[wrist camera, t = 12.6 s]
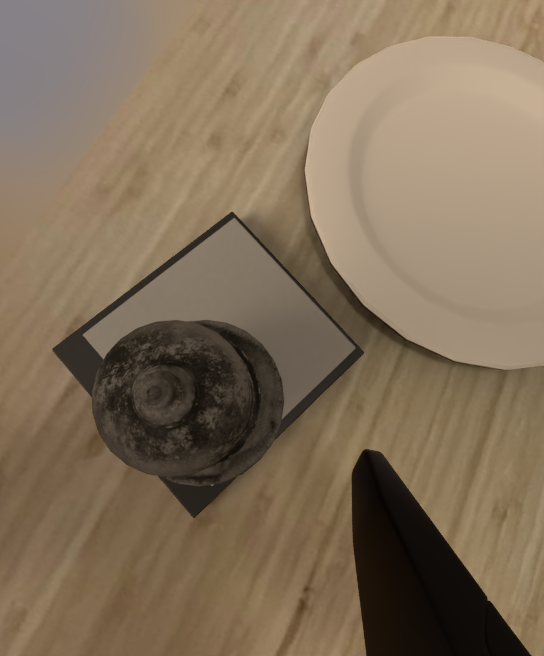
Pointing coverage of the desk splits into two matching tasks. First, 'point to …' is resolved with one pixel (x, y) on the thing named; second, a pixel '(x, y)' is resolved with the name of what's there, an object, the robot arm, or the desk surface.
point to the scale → (230, 307)
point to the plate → (438, 195)
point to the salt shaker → (188, 400)
